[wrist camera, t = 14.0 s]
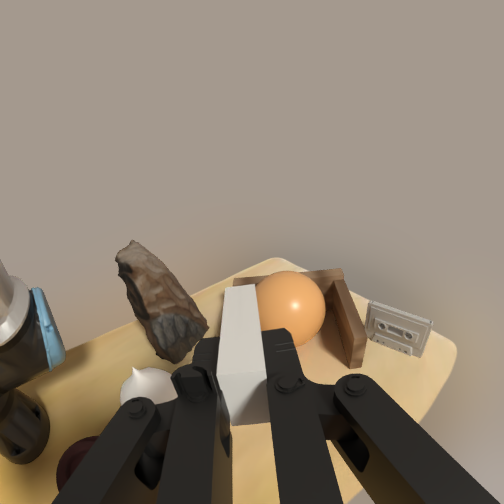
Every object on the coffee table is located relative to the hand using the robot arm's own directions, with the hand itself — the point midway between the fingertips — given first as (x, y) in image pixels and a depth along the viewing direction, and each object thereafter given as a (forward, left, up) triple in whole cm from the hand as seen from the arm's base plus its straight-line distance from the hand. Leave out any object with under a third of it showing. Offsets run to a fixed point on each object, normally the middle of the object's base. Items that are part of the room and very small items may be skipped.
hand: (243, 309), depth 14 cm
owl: (-19, +26, -27) cm, 42 cm away
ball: (+2, +25, -20) cm, 32 cm away
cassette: (+21, +20, -27) cm, 39 cm away
